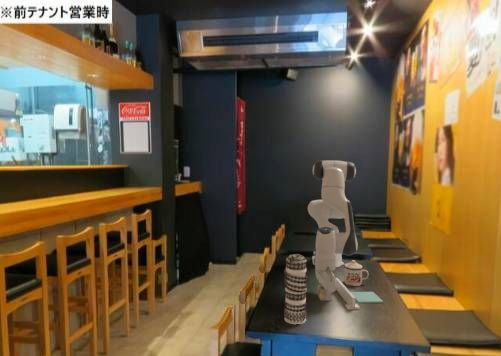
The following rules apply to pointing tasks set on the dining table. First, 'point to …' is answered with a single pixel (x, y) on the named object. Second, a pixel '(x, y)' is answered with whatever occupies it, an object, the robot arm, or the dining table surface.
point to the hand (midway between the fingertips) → (324, 294)
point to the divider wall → (346, 295)
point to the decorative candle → (295, 289)
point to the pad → (366, 297)
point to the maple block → (323, 294)
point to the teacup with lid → (353, 274)
